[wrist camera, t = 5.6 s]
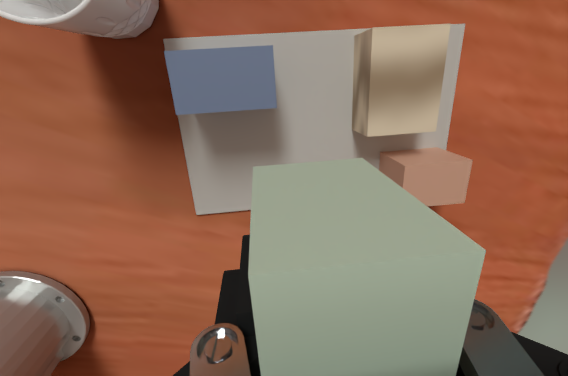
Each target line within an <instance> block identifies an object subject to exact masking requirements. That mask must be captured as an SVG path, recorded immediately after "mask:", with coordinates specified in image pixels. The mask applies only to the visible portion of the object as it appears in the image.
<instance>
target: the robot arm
mask: <svg viewBox="0 0 568 376" xmlns="http://www.w3.org/2000/svg"><path fill="white" fill-rule="evenodd" d="M249 245H250V235H243V239H242V250H241V262H240V269H238V270H228V271H224V274H223V279H222V285H221V291H220V297H219V303H218V308H217V314H216V320H215V325H212V326H210V327H208V328H206V329H205V330H203V331H202V332H201V333H200V334H199V335H198V336H197V337H196V338H195V340H194V342H193V344H192V347H191V351H190V361H189V362H188V363H187V364H186V365H185V366H184V367H182V368H181V369H180V370H179V371H178V372H177V373H175V374H174V375H173V376H261V373H260V365H259V357H258V349H257V341H256V333H255V325H254V318H253V310H252V302H251V294H250V286H249V278H248V267H249ZM89 328H90V319H89V314H88V312H87V309H86V307H85V306H84V304H83V303H82V301H81V300H80V299H79V298H78V297H77V296H76V295H75V294H74V293H73V292H72V291H71V290H70V289H68V288H67V287H66V286H64V285H63V284H61V283H59V282H57V281H55V280H53V279H51V278H48V277H45V276H42V275H39V274H34V273H30V272H22V271H4V272H0V376H51V374H52V372H53V370H54V369H55V367H56V366H57V365H58V363H59V362H60V361H63V360H65V359H67V358H68V357H70V356H72V355H73V354H74V353H75V352H76V351H77V350H78V349H79V348H80V347H81V345H82V344H83V342H84V341H85V339H86V338H87V335H88V333H89ZM456 376H568V355H567V354H565V353H562V352H560V351H557V350H555V349H552V348H550V347H548V346H545V345H543V344H540V343H538V342H535V341H533V340H530V339H528V338H525V337H523V336H520V335H518V334H515V333H513V332H510V330H509V329H508V328H507V326H506V325H505V324H504V322H503V321H502V320H501V319H500V317H499V316H498V315H497V314H496V313H495V312H494V311H493V310H492V309H491V308H490V307H488V306H487V305H485V304H484V303H482V302H480V301H478V300H475V299H474V302H473V306H472V310H471V315H470V319H469V323H468V327H467V331H466V335H465V339H464V344H463V348H462V352H461V356H460V360H459V364H458V368H457V372H456Z"/></svg>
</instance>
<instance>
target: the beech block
mask: <svg viewBox="0 0 568 376" xmlns="http://www.w3.org/2000/svg"><path fill="white" fill-rule="evenodd" d="M450 25H451V24H435V25H415V26H396V27H376V28H371V29H368V30H366V31H364V32H362V33H360V34H357V35H355V36H354V66H353V101H352V130H354V131H356V132H358V133H360V134H362V135H364V136H366V137H372V136H385V135H397V134H410V133H423V132H435V131H436V128H437V121H438V113H439V106H440V99H441V91H442V84H443V77H444V69H445V62H446V55H447V47H448V40H449V33H450Z"/></svg>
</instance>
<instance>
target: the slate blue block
mask: <svg viewBox="0 0 568 376" xmlns="http://www.w3.org/2000/svg"><path fill="white" fill-rule="evenodd" d="M164 54H165V60H166V65H167V70H168V75H169V80H170V86H171V91H172V96H173V101H174V106H175V112H176V115H185V114H199V113H213V112H228V111H242V110H256V109H271V108H277V100H276V85H275V69H274V54H273V45H267V46H248V47H229V48H211V49H192V50H173V51H164Z"/></svg>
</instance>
